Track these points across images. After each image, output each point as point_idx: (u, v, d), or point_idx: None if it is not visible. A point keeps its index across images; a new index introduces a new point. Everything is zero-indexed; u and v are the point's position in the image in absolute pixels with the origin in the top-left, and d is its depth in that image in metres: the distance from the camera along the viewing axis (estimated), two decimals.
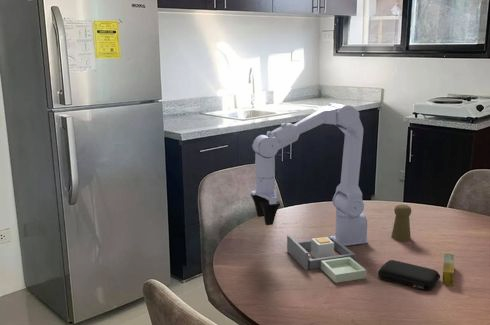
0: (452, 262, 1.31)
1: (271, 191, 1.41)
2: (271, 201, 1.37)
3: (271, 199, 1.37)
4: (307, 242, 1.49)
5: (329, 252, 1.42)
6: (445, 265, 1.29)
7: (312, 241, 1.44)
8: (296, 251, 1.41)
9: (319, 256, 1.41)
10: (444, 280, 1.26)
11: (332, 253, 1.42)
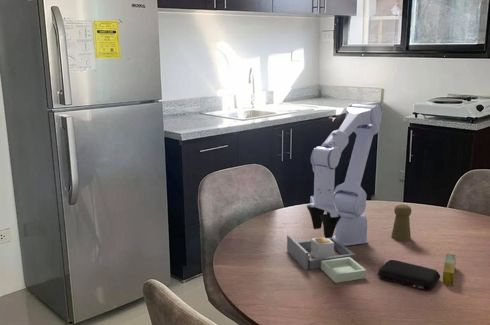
0: (453, 262, 1.30)
1: (331, 203, 1.38)
2: (333, 214, 1.34)
3: (333, 212, 1.34)
4: (307, 242, 1.49)
5: (329, 252, 1.42)
6: (446, 265, 1.29)
7: (312, 241, 1.44)
8: (296, 251, 1.41)
9: (319, 256, 1.41)
10: (444, 280, 1.26)
11: (332, 253, 1.42)
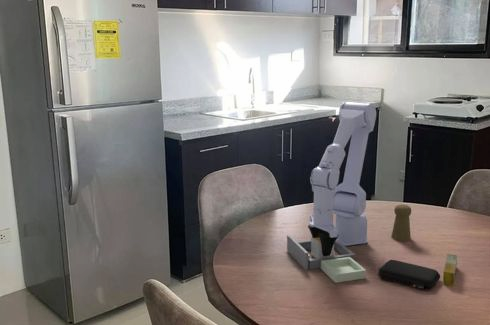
0: (454, 262, 1.30)
1: (330, 223, 1.40)
2: (332, 234, 1.35)
3: (332, 232, 1.35)
4: (307, 242, 1.49)
5: None
6: (447, 265, 1.29)
7: (312, 241, 1.44)
8: (296, 251, 1.41)
9: (319, 256, 1.41)
10: (445, 280, 1.26)
11: (332, 253, 1.42)
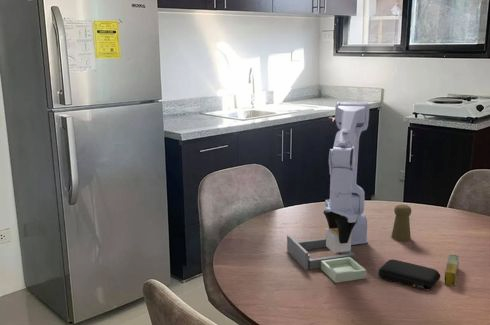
0: (455, 263, 1.30)
1: (348, 208, 1.29)
2: (351, 219, 1.25)
3: (351, 217, 1.24)
4: (307, 242, 1.49)
5: (346, 243, 1.31)
6: (448, 265, 1.29)
7: (327, 231, 1.34)
8: (296, 251, 1.41)
9: (335, 247, 1.31)
10: (446, 280, 1.26)
11: (349, 244, 1.32)
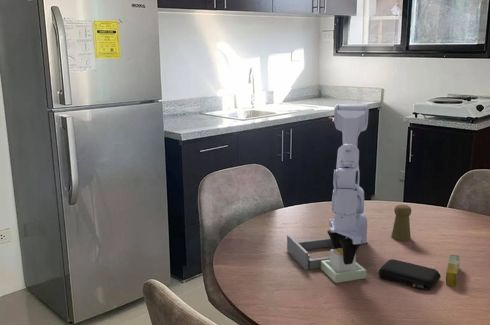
0: (457, 263, 1.30)
1: (353, 228, 1.28)
2: (356, 241, 1.23)
3: (356, 239, 1.23)
4: (307, 242, 1.49)
5: (351, 264, 1.30)
6: (449, 266, 1.29)
7: (331, 252, 1.33)
8: (296, 251, 1.41)
9: (340, 269, 1.29)
10: (447, 281, 1.26)
11: (354, 265, 1.31)
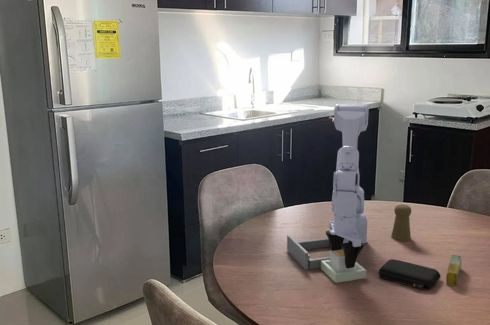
0: (458, 263, 1.30)
1: (352, 231, 1.28)
2: (355, 243, 1.24)
3: (356, 241, 1.23)
4: (307, 242, 1.49)
5: None
6: (450, 266, 1.29)
7: (331, 254, 1.33)
8: (296, 251, 1.41)
9: (339, 270, 1.30)
10: (448, 281, 1.26)
11: None
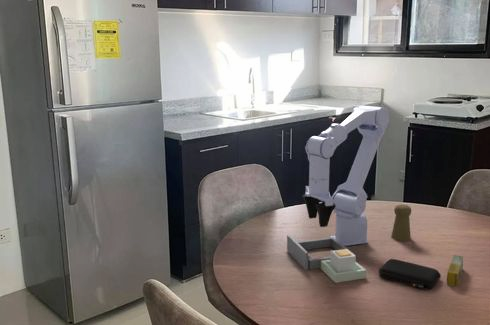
0: (459, 263, 1.30)
1: (326, 192, 1.40)
2: (328, 203, 1.35)
3: (328, 201, 1.35)
4: (307, 242, 1.49)
5: (350, 266, 1.30)
6: (451, 266, 1.28)
7: (331, 254, 1.33)
8: (296, 251, 1.41)
9: (339, 270, 1.30)
10: (448, 281, 1.26)
11: (353, 267, 1.31)
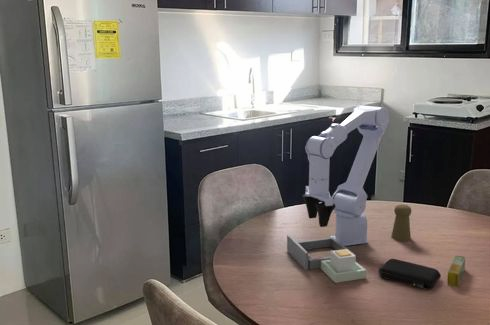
0: (460, 264, 1.30)
1: (326, 192, 1.40)
2: (327, 203, 1.35)
3: (327, 201, 1.35)
4: (307, 242, 1.49)
5: (350, 266, 1.30)
6: (452, 266, 1.28)
7: (331, 254, 1.33)
8: (296, 251, 1.41)
9: (339, 270, 1.30)
10: (449, 281, 1.26)
11: (353, 267, 1.31)
